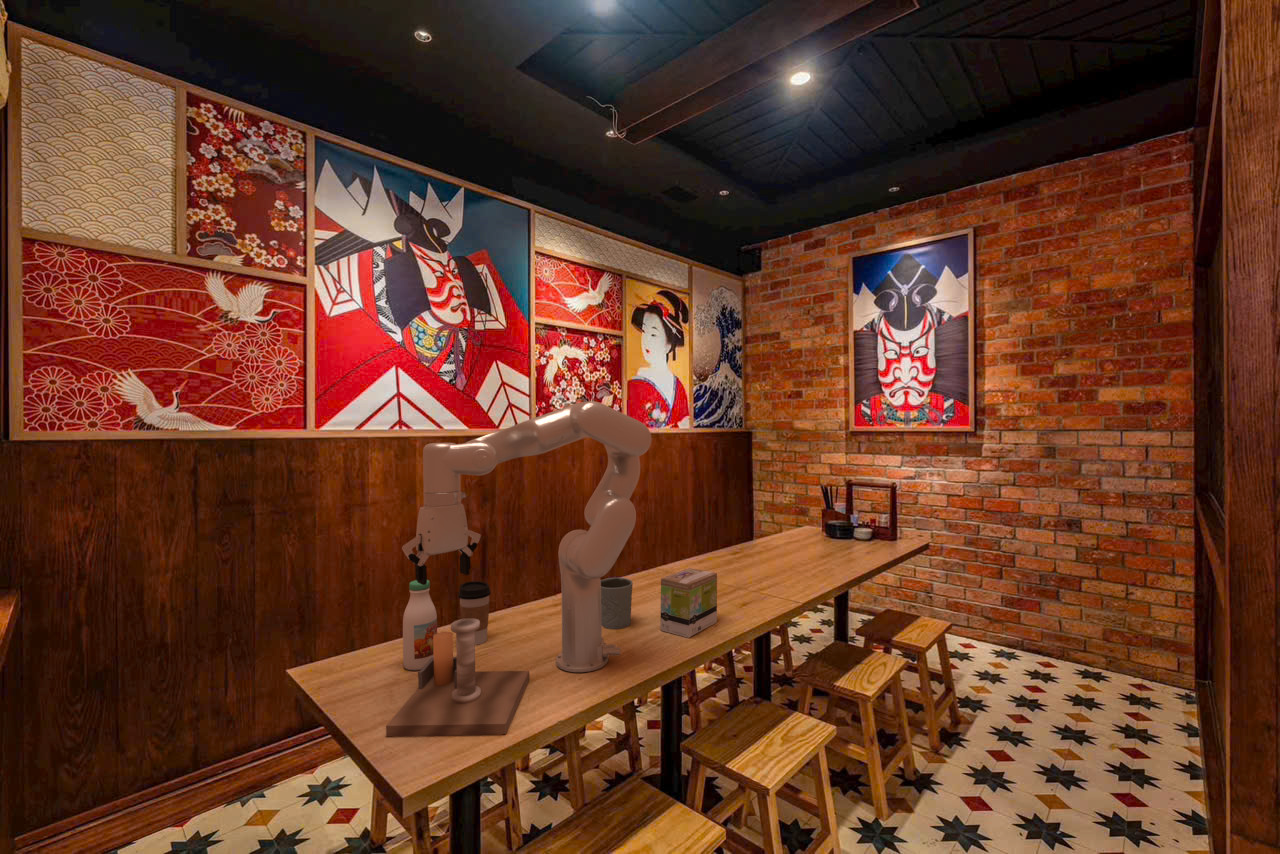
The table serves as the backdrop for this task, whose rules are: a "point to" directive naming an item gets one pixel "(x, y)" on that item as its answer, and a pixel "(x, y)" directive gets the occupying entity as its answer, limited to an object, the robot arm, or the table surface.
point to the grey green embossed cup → (616, 602)
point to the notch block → (428, 672)
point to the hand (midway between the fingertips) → (443, 578)
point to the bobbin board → (462, 697)
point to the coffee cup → (475, 606)
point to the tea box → (688, 602)
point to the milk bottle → (418, 627)
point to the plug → (443, 658)
